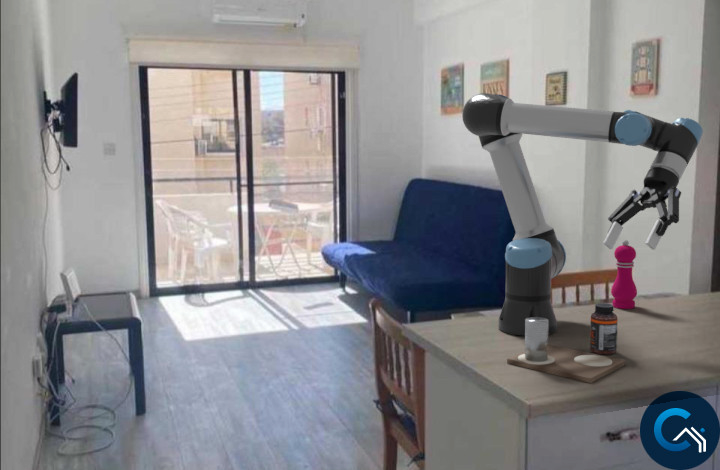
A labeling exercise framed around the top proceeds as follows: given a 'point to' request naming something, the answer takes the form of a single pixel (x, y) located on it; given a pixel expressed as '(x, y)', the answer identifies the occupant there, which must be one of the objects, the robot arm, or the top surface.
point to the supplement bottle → (603, 330)
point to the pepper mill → (624, 277)
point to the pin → (536, 339)
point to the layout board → (571, 364)
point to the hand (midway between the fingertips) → (627, 246)
